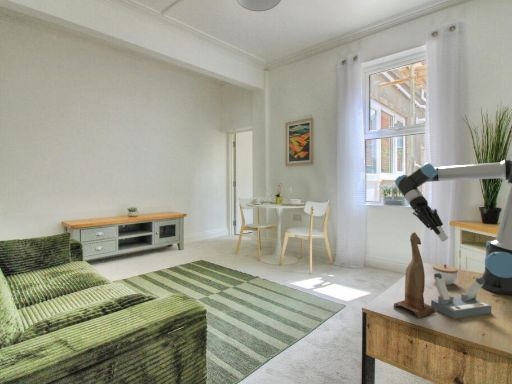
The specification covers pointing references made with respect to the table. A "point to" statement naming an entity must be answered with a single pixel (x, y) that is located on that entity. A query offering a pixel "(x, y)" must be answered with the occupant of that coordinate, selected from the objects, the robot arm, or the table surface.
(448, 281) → the lidded jar
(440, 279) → the lever
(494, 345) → the table surface
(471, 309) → the switch unit
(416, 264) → the bird sculpture
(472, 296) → the marked lever
